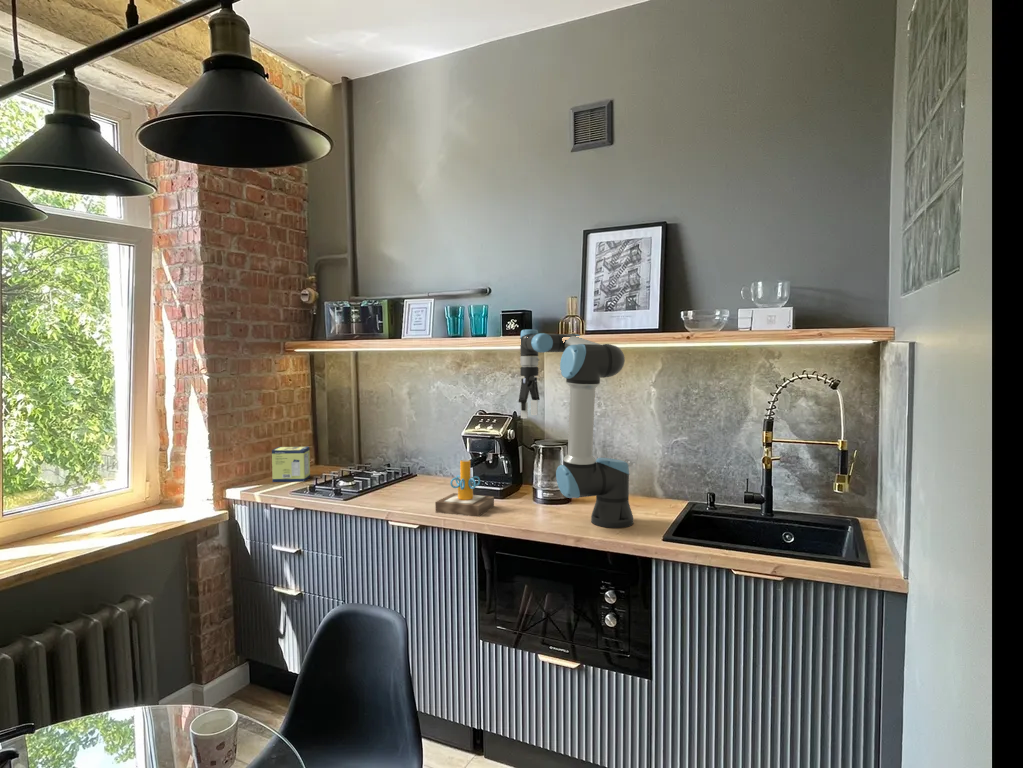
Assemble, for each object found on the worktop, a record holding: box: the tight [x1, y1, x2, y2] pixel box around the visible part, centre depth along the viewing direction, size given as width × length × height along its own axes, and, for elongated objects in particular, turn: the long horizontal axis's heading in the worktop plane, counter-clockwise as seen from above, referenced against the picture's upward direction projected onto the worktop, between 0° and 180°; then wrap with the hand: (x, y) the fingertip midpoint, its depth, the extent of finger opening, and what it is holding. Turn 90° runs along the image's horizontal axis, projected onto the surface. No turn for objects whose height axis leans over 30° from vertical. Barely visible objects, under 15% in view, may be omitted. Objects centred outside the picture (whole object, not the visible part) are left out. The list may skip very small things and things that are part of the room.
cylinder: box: [450, 459, 481, 500], centre depth 240 cm, size 12×10×15 cm
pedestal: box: [435, 492, 495, 517], centre depth 240 cm, size 18×16×4 cm
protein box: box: [271, 446, 311, 483], centre depth 297 cm, size 10×16×16 cm
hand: (529, 416), depth 257 cm, fingers open, 13 cm apart
